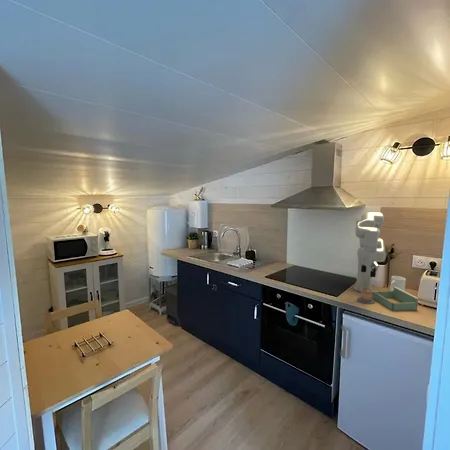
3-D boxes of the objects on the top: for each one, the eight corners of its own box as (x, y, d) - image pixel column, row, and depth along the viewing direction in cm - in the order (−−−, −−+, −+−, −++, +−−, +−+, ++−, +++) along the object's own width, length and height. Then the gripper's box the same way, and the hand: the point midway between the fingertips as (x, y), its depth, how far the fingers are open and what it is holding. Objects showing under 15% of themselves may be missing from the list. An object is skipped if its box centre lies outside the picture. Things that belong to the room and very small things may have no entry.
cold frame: (372, 297, 177) (372, 286, 176) (394, 297, 178) (395, 286, 178) (392, 310, 158) (393, 298, 157) (417, 310, 159) (418, 298, 158)
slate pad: (354, 297, 177) (354, 297, 177) (368, 297, 177) (368, 296, 177) (363, 304, 167) (363, 303, 167) (378, 303, 167) (378, 302, 167)
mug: (384, 291, 189) (385, 277, 187) (395, 289, 193) (396, 275, 192) (396, 296, 181) (397, 280, 179) (407, 293, 186) (408, 278, 184)
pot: (357, 297, 175) (358, 287, 174) (368, 297, 176) (368, 287, 175) (364, 302, 168) (365, 291, 167) (375, 302, 169) (375, 291, 168)
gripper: (356, 245, 176) (354, 270, 179) (372, 252, 159) (370, 279, 162) (367, 245, 177) (365, 270, 179) (384, 251, 160) (382, 278, 162)
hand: (368, 274), depth 170 cm, fingers open, 9 cm apart
